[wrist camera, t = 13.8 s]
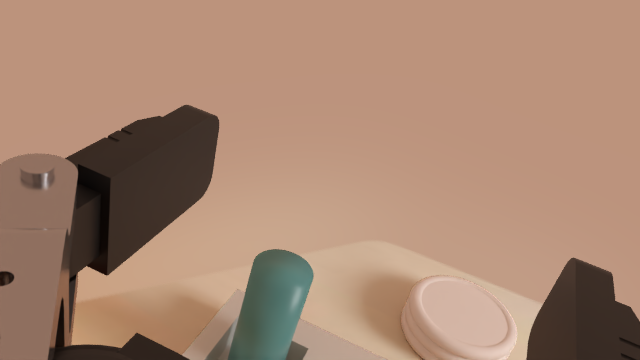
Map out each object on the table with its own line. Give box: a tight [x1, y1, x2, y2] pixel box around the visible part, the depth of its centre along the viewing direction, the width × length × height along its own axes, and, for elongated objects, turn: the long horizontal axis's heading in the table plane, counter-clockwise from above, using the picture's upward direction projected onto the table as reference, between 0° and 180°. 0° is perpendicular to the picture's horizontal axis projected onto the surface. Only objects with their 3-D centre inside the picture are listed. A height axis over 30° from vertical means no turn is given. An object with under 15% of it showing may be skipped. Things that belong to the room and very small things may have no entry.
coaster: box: [401, 275, 517, 360], centre depth 52 cm, size 10×10×4 cm
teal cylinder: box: [227, 249, 313, 360], centre depth 40 cm, size 4×4×11 cm
